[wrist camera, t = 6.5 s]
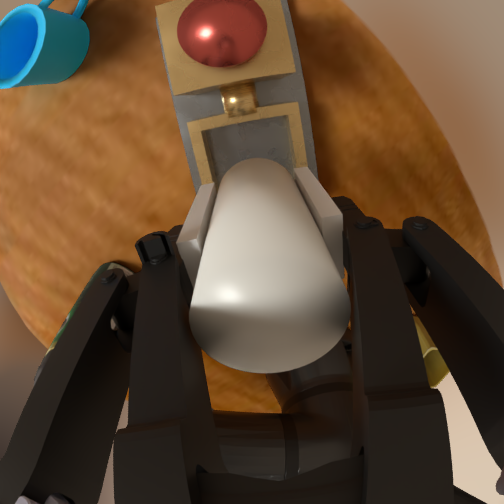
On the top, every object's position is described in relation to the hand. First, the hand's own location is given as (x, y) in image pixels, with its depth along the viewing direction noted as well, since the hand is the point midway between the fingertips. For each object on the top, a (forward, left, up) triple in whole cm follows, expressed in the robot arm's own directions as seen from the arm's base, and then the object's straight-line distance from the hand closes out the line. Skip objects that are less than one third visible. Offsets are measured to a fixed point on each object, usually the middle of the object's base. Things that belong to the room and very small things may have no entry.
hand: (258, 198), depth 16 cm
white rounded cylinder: (0, 0, 0) cm, 0 cm away
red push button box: (+5, 0, -13) cm, 14 cm away
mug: (+19, +16, -14) cm, 28 cm away
